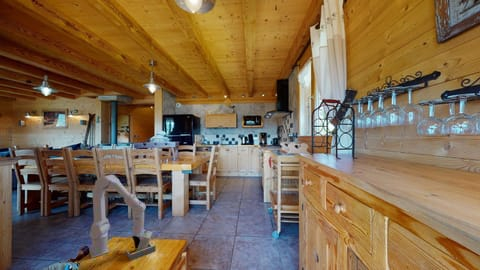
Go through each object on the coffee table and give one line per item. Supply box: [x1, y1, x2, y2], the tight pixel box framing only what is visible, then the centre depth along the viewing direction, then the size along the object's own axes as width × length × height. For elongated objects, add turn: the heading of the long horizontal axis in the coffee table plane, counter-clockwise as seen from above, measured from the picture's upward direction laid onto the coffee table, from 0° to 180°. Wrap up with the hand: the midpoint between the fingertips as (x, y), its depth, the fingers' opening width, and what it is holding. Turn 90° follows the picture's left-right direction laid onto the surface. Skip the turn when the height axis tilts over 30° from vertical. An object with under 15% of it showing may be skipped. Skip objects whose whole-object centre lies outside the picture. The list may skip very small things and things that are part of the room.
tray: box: [125, 242, 157, 262], centre depth 106 cm, size 9×13×3 cm
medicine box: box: [136, 230, 154, 252], centre depth 109 cm, size 8×4×9 cm, turn 11°
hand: (137, 247), depth 109 cm, fingers closed, pressing on medicine box
